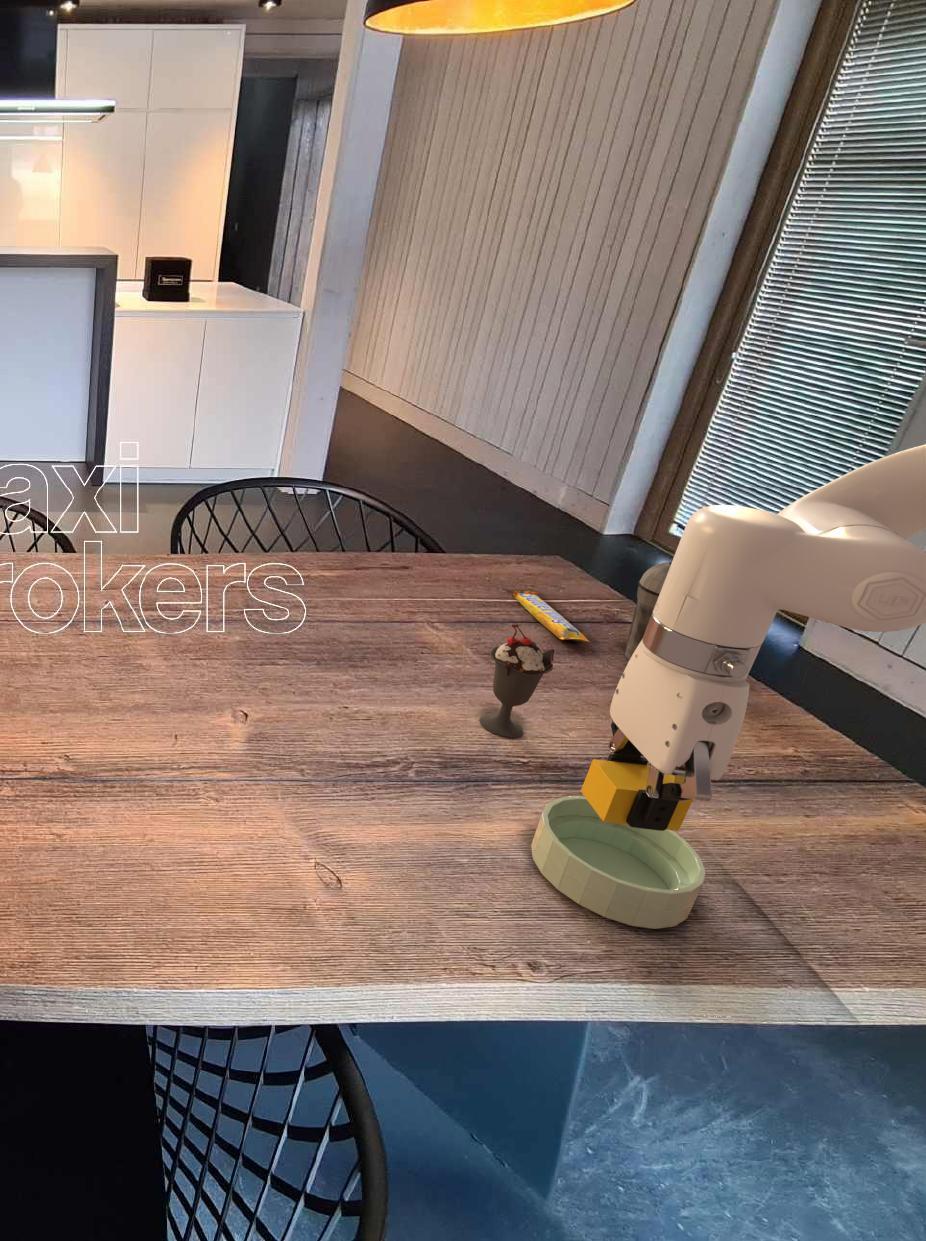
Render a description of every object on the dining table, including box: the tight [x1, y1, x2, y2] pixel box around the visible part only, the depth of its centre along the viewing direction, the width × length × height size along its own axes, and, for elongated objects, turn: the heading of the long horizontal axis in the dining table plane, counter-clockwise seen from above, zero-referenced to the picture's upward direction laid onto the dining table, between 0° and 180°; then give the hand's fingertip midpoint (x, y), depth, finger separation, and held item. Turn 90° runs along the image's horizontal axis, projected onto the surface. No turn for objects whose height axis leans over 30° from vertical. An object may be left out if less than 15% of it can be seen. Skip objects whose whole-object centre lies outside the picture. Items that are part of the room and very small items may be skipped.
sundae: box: [479, 623, 555, 739], centre depth 103 cm, size 7×7×15 cm
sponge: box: [580, 758, 694, 832], centre depth 78 cm, size 6×4×4 cm
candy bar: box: [512, 590, 592, 643], centre depth 132 cm, size 17×4×2 cm, turn 174°
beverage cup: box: [624, 561, 672, 661], centre depth 118 cm, size 7×7×20 cm
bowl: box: [530, 795, 707, 930], centre depth 81 cm, size 13×13×5 cm
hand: (630, 806), depth 79 cm, fingers closed on sponge, 4 cm apart
